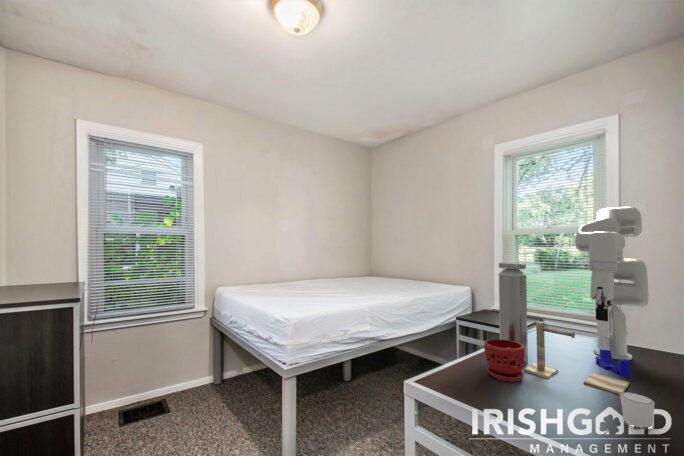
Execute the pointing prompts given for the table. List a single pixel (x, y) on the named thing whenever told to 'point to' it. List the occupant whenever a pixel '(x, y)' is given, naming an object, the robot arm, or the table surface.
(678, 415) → the table surface
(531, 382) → the table surface
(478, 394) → the table surface
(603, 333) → the c link
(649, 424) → the shot glass
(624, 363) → the cable clip
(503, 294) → the grey metal bottle
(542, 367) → the stand
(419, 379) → the table surface
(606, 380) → the mat
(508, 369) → the plant pot
